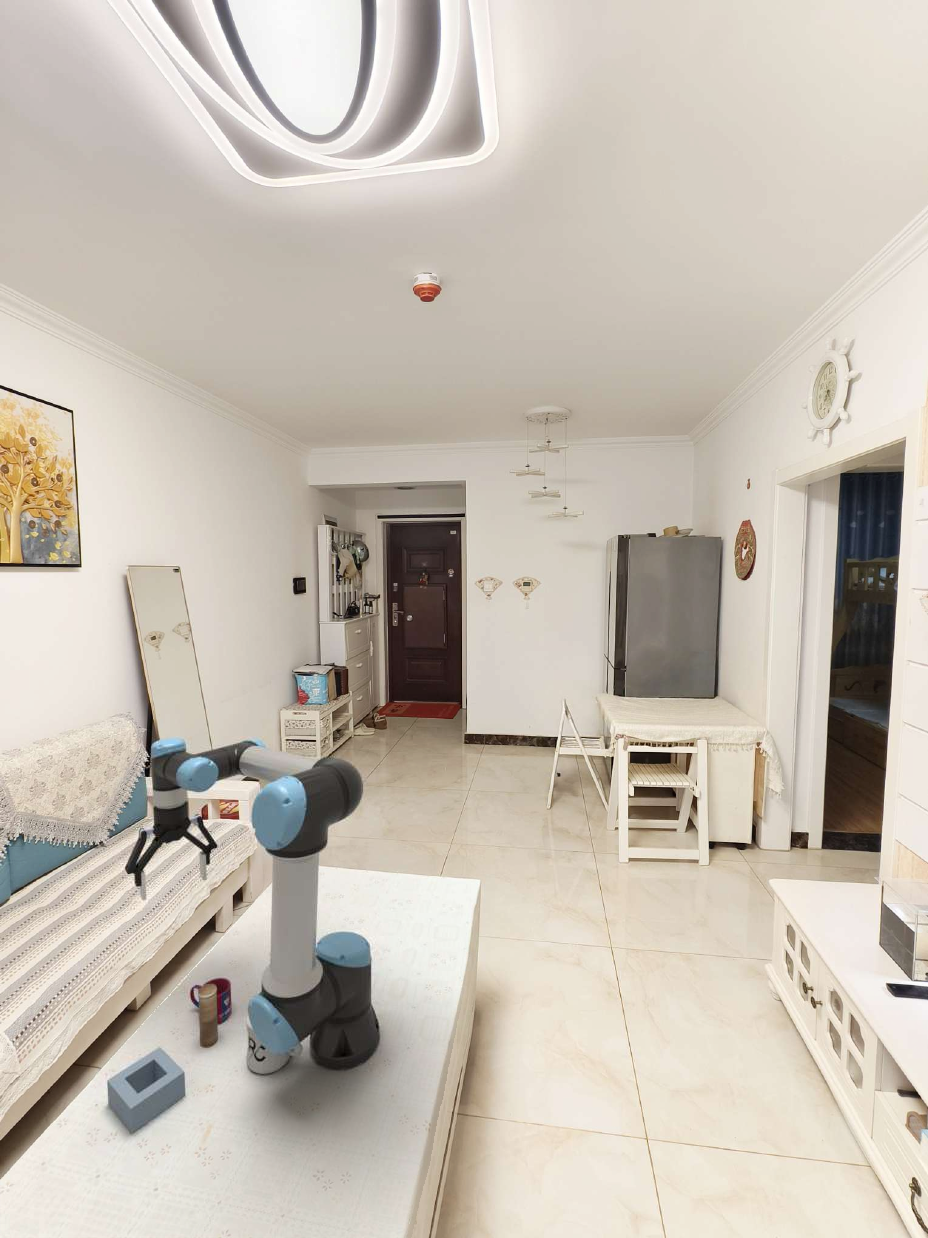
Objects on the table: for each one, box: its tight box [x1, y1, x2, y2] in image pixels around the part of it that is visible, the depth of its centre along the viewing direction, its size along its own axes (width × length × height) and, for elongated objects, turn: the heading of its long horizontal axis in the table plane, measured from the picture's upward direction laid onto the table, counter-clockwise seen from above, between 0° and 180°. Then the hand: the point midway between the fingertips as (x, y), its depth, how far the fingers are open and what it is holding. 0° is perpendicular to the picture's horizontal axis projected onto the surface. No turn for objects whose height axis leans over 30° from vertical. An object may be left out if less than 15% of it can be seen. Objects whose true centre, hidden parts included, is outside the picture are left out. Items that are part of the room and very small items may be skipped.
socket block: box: [106, 1046, 186, 1135], centre depth 113 cm, size 10×10×5 cm
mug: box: [245, 1014, 304, 1075], centre depth 123 cm, size 12×9×10 cm
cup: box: [189, 977, 232, 1025], centre depth 136 cm, size 7×10×7 cm
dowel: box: [197, 984, 219, 1049], centre depth 128 cm, size 4×4×12 cm
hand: (174, 888), depth 142 cm, fingers open, 13 cm apart
